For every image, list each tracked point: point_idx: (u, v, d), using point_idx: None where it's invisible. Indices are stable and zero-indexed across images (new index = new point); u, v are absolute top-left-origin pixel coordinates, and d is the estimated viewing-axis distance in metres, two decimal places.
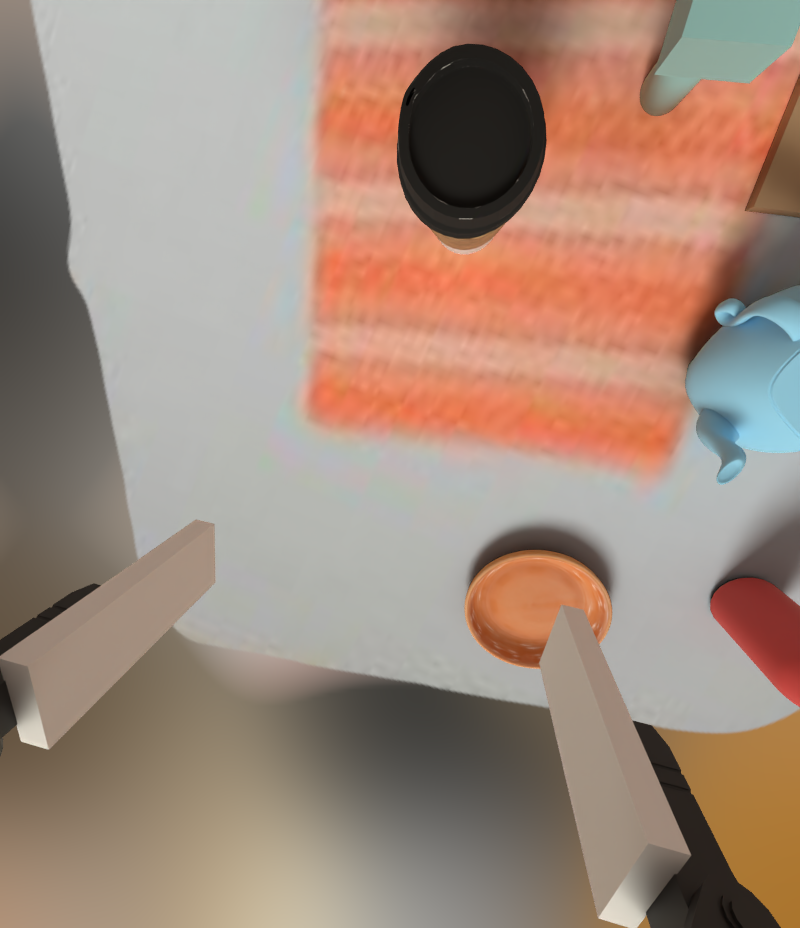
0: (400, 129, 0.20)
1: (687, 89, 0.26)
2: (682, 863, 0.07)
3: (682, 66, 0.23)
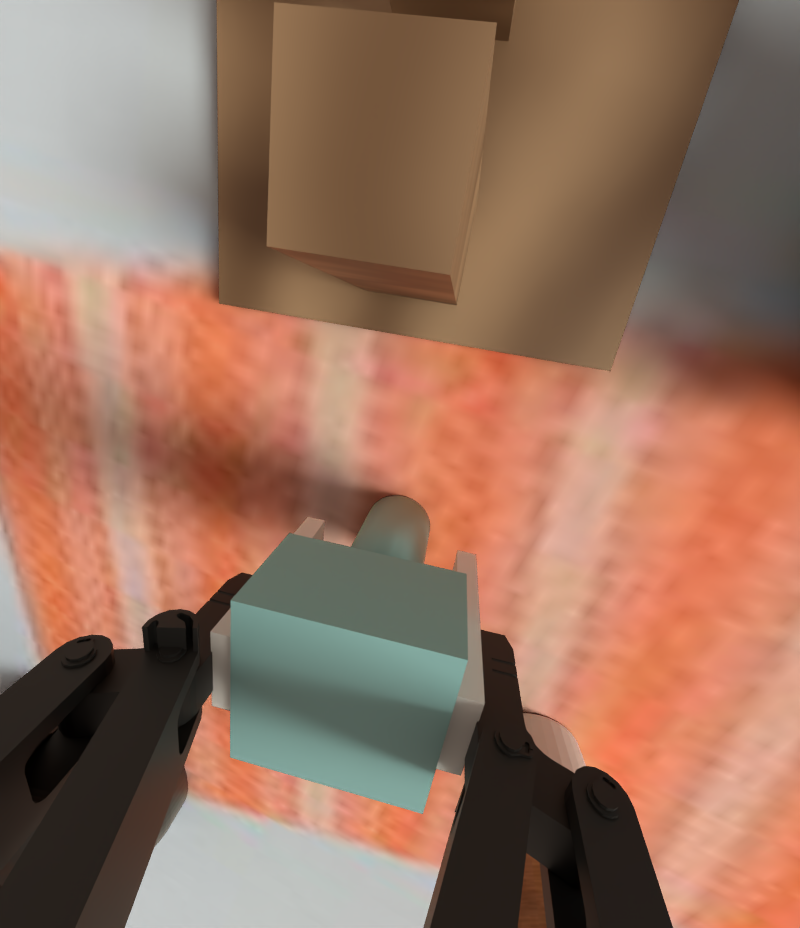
0: None
1: (422, 553, 0.16)
2: (480, 710, 0.09)
3: None
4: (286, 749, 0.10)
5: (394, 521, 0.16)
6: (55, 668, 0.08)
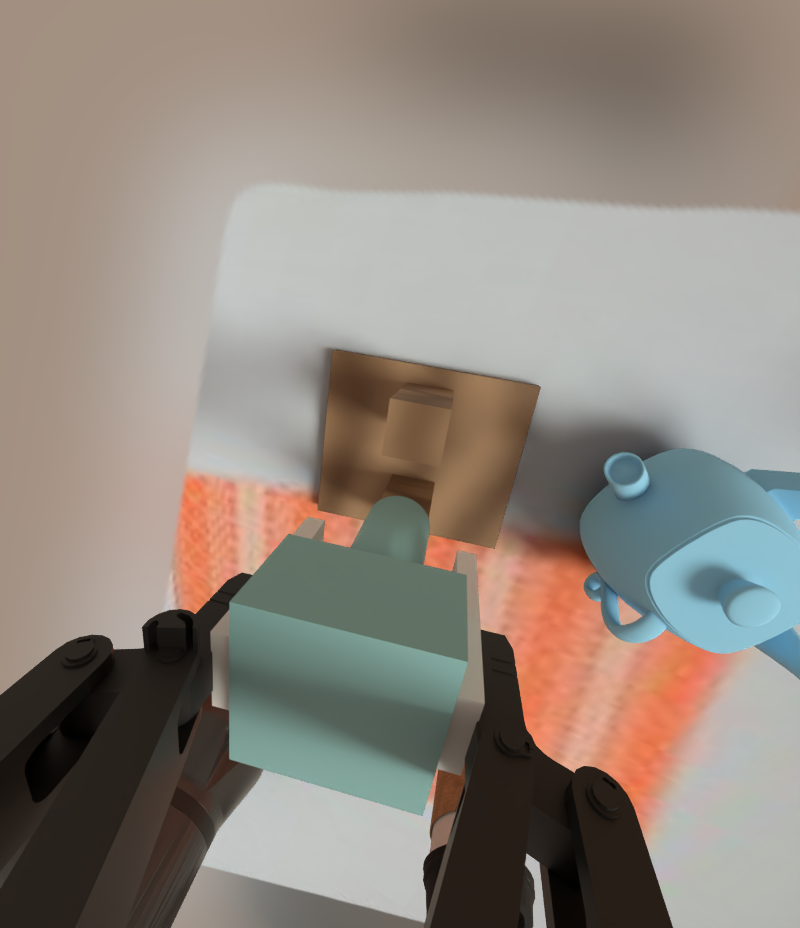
0: None
1: (422, 554, 0.16)
2: (480, 710, 0.09)
3: None
4: (285, 751, 0.10)
5: (394, 521, 0.16)
6: (55, 668, 0.08)
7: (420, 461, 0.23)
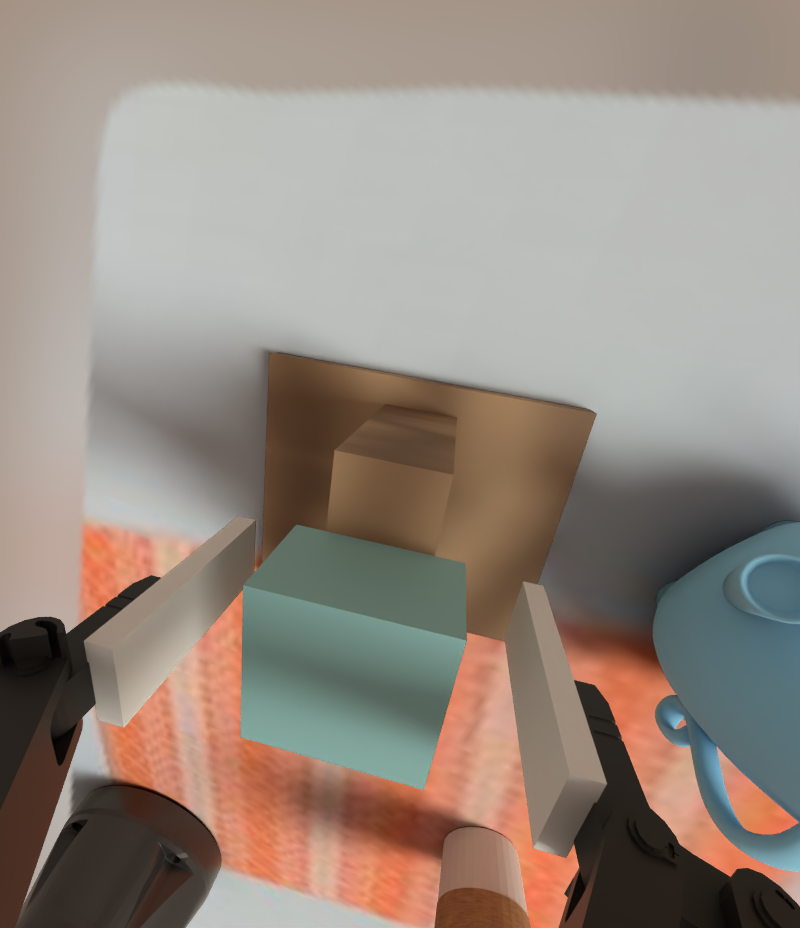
0: None
1: None
2: (600, 791, 0.08)
3: None
4: (294, 729, 0.11)
5: None
6: None
7: None
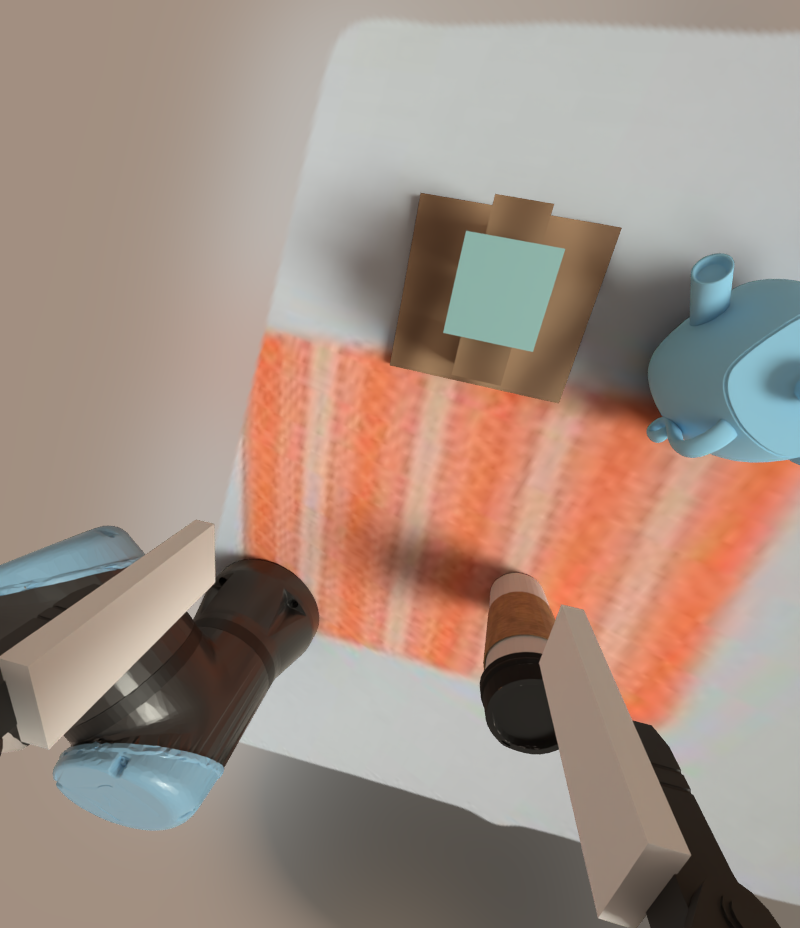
0: (522, 751, 0.31)
1: None
2: (682, 863, 0.07)
3: None
4: (473, 321, 0.23)
5: None
6: None
7: None
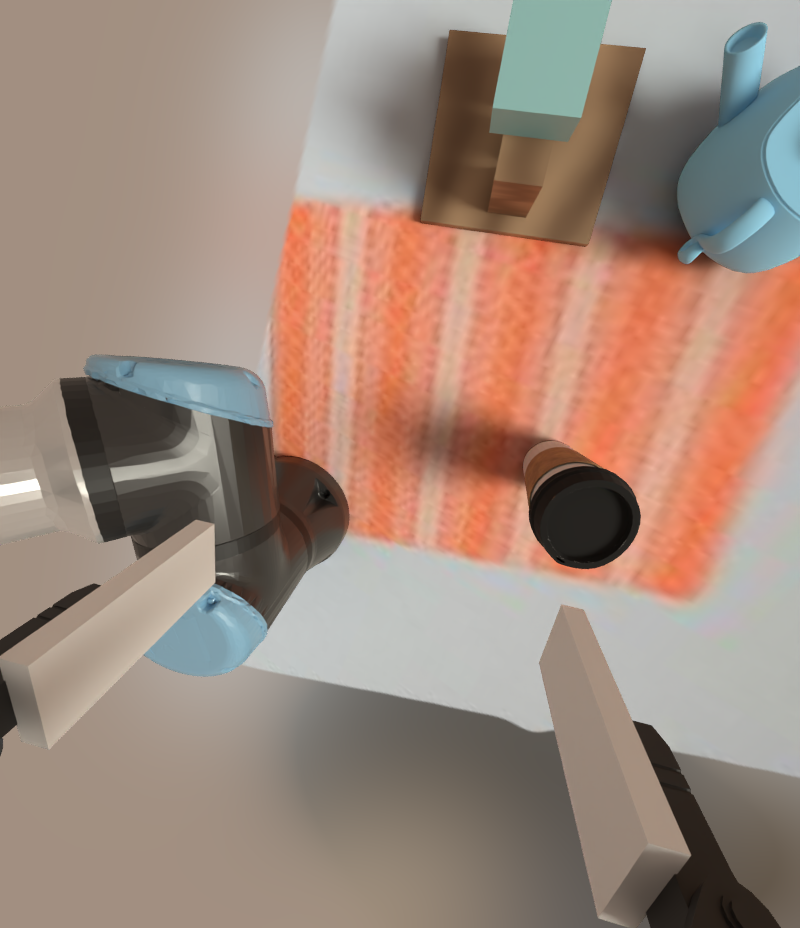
0: (576, 567, 0.31)
1: None
2: (682, 863, 0.07)
3: None
4: (522, 90, 0.24)
5: None
6: None
7: None
